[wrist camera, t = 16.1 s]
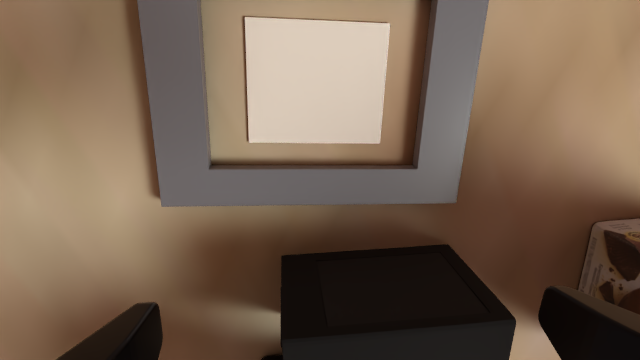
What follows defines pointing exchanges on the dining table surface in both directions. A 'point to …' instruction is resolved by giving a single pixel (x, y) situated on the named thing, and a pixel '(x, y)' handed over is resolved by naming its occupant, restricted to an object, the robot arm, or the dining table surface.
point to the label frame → (309, 106)
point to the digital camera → (390, 307)
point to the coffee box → (614, 264)
